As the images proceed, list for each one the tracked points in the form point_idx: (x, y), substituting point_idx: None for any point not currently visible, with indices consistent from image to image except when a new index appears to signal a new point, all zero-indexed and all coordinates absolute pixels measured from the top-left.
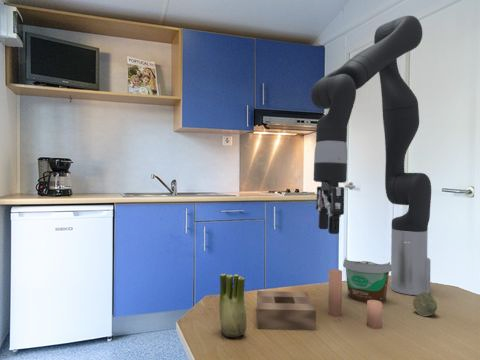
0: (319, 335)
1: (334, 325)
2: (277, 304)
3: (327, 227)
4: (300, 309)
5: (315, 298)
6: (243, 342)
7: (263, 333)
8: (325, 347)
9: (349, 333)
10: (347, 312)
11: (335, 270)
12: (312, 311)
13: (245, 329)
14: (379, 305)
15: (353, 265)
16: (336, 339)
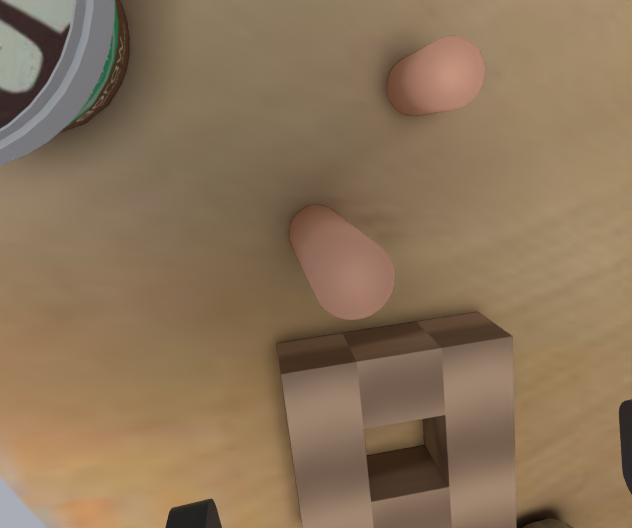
0: (519, 300)
1: (433, 244)
2: (463, 476)
3: (212, 510)
4: (507, 392)
5: (127, 306)
6: (577, 504)
7: (518, 464)
8: (598, 285)
9: (496, 197)
10: (287, 175)
11: (343, 278)
12: (510, 347)
13: (564, 523)
14: (479, 57)
15: (51, 113)
16: (544, 247)
